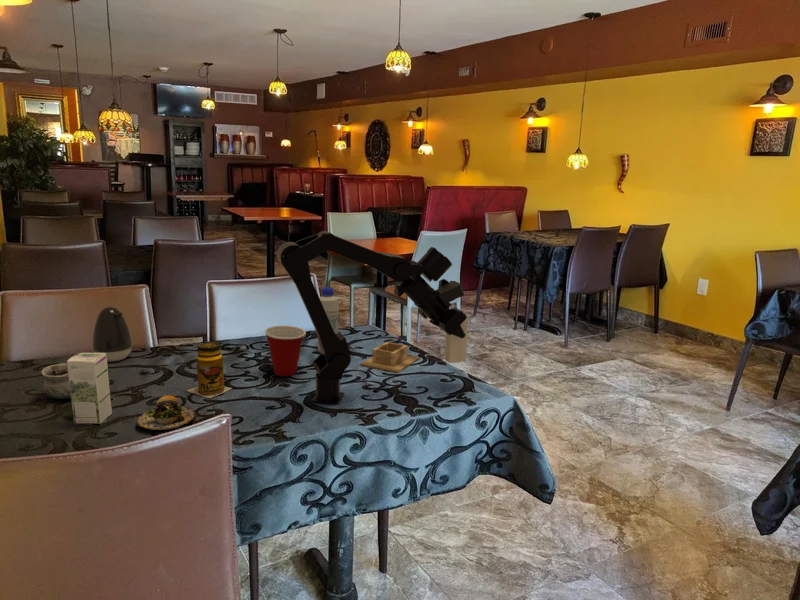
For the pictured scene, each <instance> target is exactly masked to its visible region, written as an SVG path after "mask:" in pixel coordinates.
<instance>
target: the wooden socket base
mask: <svg viewBox="0 0 800 600" xmlns="http://www.w3.org/2000/svg"><path fill="white" fill-rule="evenodd" d="M419 360H420V356H419V357H418V356H412V355H409V345H406V344H402V343H395V342H389V341H385V342H384V343H383V344H380V345H378V346H376V347H374V348H372V357H370V358H368V359H366V360H365V361H362V362H360V363H359V366H361V367H366V368H370V369H374V370H375V369H376V370H381V371H385V372H389V373H390V372H391V373H395V374H399V373H400V372H401V371H403V370H405V369H406V368H408V367H409V366H411V365H413V364H414V363H416V362H418V361H419Z"/></svg>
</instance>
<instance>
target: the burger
mask: <svg viewBox="0 0 800 600" xmlns="http://www.w3.org/2000/svg"><path fill="white" fill-rule="evenodd" d="M166 387H167V391H166V394H167V395H163V396H162V397H160V398H158V400H157V401H156V403H155V408H152V409H151V408H150V407H148V409H147V410H144V412H143V413H141V414H140V415H139V416H138V417H137V418H136V428H138V427H139V428H144V429H147V430H150V431H151V430H152V431H156V430H157V431H165V430H173V429H176V428H179V427H182V426H183V425H187V424H188V423H190V422H191V421H192V423H194V424H195V423H196V421H197V414H196V411H194V410H193V408H192V407H191V408H190V407H188V406H182V405H180V404H179V400H178V398H177V397H176V396H174V395H170V394H168V392H169V391H168V390H169V388H168V387H169V386H166ZM178 404H179V405H178ZM192 423H191V424H192Z"/></svg>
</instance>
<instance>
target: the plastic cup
mask: <svg viewBox="0 0 800 600" xmlns="http://www.w3.org/2000/svg"><path fill="white" fill-rule="evenodd" d="M264 334H265V336H266V338H267V343H268V348H269V353H270V358H271V363H272V368H273V372H274V374H275V375H276V376H278V377H290V376H293V375H295V374H296V373H297V371H298V365H299V364H298V363H299V360H300V353H301V348H302V343H303V340H304V337H305V336H306V334H307V333H306V330H304V329H303V328H300V327H299V326H298V327H297V326H293V325H273V326H269V327H267V328H266V329H265V330H264Z"/></svg>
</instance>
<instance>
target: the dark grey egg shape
mask: <svg viewBox="0 0 800 600" xmlns="http://www.w3.org/2000/svg"><path fill="white" fill-rule="evenodd" d="M130 330H131V329H130V327H129V325H128V323H127V320H126V319H125V316H124V314H123V312H122V311H120V309H118V308H117V307H115V306H106V307H104V308H102V309H101V310H100V311H99V313H98V315H97V317H96V319H95V323H94V326H93V332H92V339H91V340H92V341H91V349H92V351H94V352H93V353H106V357H107V363H110V362H111V363H112V362H119V361H122V360H124V359H126V358H127V357H128V356H129V355H130V352H131V351H132V347H133V345H134V344H133V338H132V334H131V331H130Z"/></svg>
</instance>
